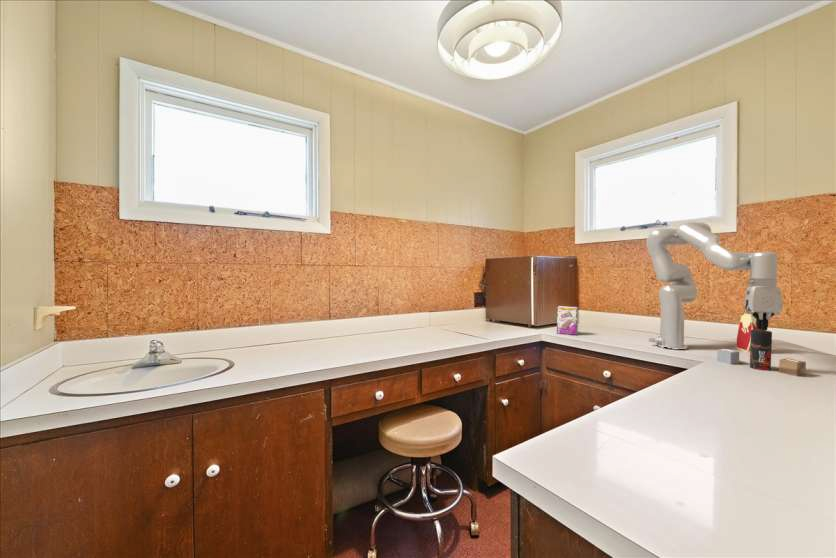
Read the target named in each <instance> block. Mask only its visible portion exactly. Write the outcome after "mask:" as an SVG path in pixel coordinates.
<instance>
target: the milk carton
mask: <svg viewBox="0 0 836 558" xmlns="http://www.w3.org/2000/svg"><path fill="white" fill-rule="evenodd" d="M743 311H744V314H743V315H741V316H740V321H739V324H738V329H737V335H736V342H735V349H736V348H738V349H737V350H739V349H741V350H740V351H742V350H743V351H742V352H744V351H746V352H745V353H747V352H750V342H751V330H761V329H757V327H756V319H755V318H754V316H752V315H750V314H746V313H745V311H746V310H743ZM752 312H753V311H752ZM765 331H768V329H767V330H765Z"/></svg>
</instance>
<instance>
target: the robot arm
mask: <svg viewBox="0 0 836 558" xmlns="http://www.w3.org/2000/svg"><path fill="white" fill-rule="evenodd" d="M720 241H721V238H720V236H719V235H717V234H716V233H713V232H712V228H711V226H710V225H709V224H706V223H704V222H695V221H694V222H690V221H688V222H684V223H682V224H680V225H679V226H678V227H677V228H657V229H655V230H654V229H653V231H651V232H650V233H649V234H648V236H647V239H646V243H645V244H646V249H647V252H648V254H649V257H650V259H651V262H652V267H653V269H654V272H655V275H656V278H657V280H658V281H659V282H662V283H670V284H666V285H664V286H662V287H660V289H659V291H658V300H659V303H660V324H659V325H660V327H659V328H660V330H659V331H660V332H659V336H658V335H657V337H656V338H654V337H649V338H648V341H649V343H656V344H657V345H660V346H664V347H669V348H677V349H685V350H687V349H686V348H689V347H688V345H686V344H685V309H684V306H683V304H685V303H686V304H687V303H692V302H694V301H695V300H696V298H698V290H697V289H698V288H697V286H696V283H695V279H694V277H693V274H692V271H691V269H689V267H688V266H687V265H685V264H683V263H675V262H674V259H673V257H672V254H671V252H670V251H669V250H668V249H667V247H666V246H682V245H687V244H690V245H691V246H693V247H695V248H696V249H698V250H699V251H700V252H702V255H703V256H704V258H706V260H707V261H709V262H710V263H711V264H714V265H715V266H717V267H719V268H720V269H723V270H725V271H749V280H748V279H747V280H746V281H745V283H746V284H749V285H748V286H747V288H746V291H745V297H744V309H745V310H744V311H745V312H744V314H745V313H746V314H750V315H752V316H754V318H755V319H756V327H757V329H761V330H767V331H768V327H769V321H770V320H771V318H773V317H774V316H779V315H781V312H783V309H784V308H783V307H784V305H783V293H782V291H781V287H780V286H778V262H779V261H778V253H776V252H774V251H757V252H745V251H744V252H743V251H739V252H738V251H734V252H733V251H730V250H728V249H726V248H725V247H724V246H721V245H720ZM671 283H672V284H671ZM752 311H753V312H752ZM657 345H656V346H657Z"/></svg>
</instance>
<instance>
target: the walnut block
mask: <svg viewBox="0 0 836 558" xmlns="http://www.w3.org/2000/svg"><path fill="white" fill-rule="evenodd" d="M806 365H807V361H802V360H798V359H793V358H790V357H789V358H782V359H779V364H778V373H781V374H785V375H789V376H794V377H800V376H801V375H802V376H806V368H807V367H806ZM802 376H801V377H802Z"/></svg>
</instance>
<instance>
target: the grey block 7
mask: <svg viewBox="0 0 836 558" xmlns="http://www.w3.org/2000/svg"><path fill="white" fill-rule="evenodd" d="M716 361H717V362H719V363H724V364H728V365H736V364H739V363H740V351H737V350H732V349H730V348H729V349H727V348H721V349H717V353H716Z"/></svg>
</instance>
